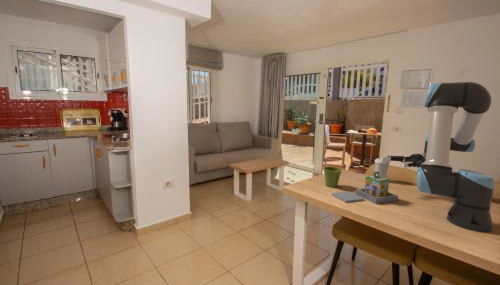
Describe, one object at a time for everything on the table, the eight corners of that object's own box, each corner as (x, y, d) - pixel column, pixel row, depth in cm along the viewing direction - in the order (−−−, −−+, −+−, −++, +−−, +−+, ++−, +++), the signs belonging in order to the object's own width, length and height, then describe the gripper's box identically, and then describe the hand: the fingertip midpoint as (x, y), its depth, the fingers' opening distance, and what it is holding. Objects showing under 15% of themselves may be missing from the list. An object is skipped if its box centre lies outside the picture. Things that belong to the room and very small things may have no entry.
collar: (397, 201, 131) (398, 195, 130) (375, 203, 126) (376, 198, 126) (375, 191, 145) (376, 187, 145) (355, 193, 141) (355, 189, 140)
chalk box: (379, 201, 129) (381, 175, 127) (363, 196, 137) (365, 171, 135) (388, 198, 134) (391, 173, 132) (372, 193, 142) (374, 169, 140)
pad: (364, 200, 131) (364, 198, 131) (345, 202, 127) (345, 200, 127) (348, 192, 142) (349, 191, 142) (331, 194, 139) (331, 192, 138)
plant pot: (318, 185, 155) (319, 168, 154) (328, 181, 163) (329, 165, 161) (335, 190, 147) (336, 172, 145) (344, 186, 154) (346, 169, 153)
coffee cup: (390, 182, 164) (392, 161, 162) (375, 181, 165) (377, 160, 163) (384, 178, 173) (387, 158, 171) (370, 177, 175) (372, 157, 172)
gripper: (440, 171, 131) (412, 174, 124) (399, 161, 155) (373, 163, 148) (442, 158, 130) (414, 160, 123) (400, 149, 153) (374, 151, 146)
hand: (392, 162), depth 135 cm, fingers open, 13 cm apart
